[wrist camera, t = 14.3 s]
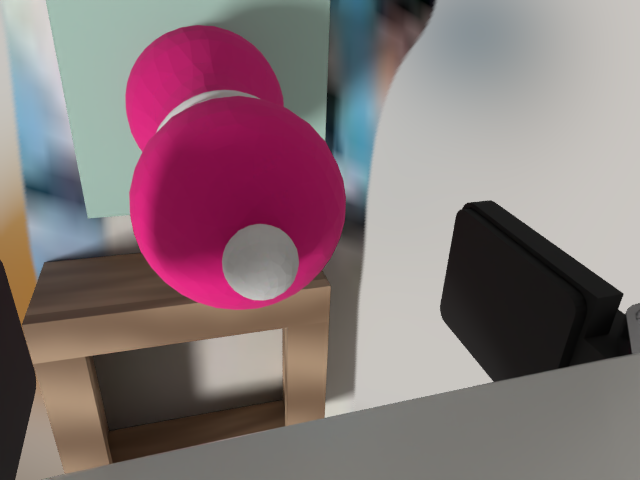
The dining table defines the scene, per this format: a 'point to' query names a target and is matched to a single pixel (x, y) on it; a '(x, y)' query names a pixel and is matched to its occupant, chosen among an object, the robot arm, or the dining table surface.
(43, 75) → the dining table surface
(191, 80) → the pepper mill
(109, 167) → the green mat
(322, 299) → the box
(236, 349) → the dining table surface
